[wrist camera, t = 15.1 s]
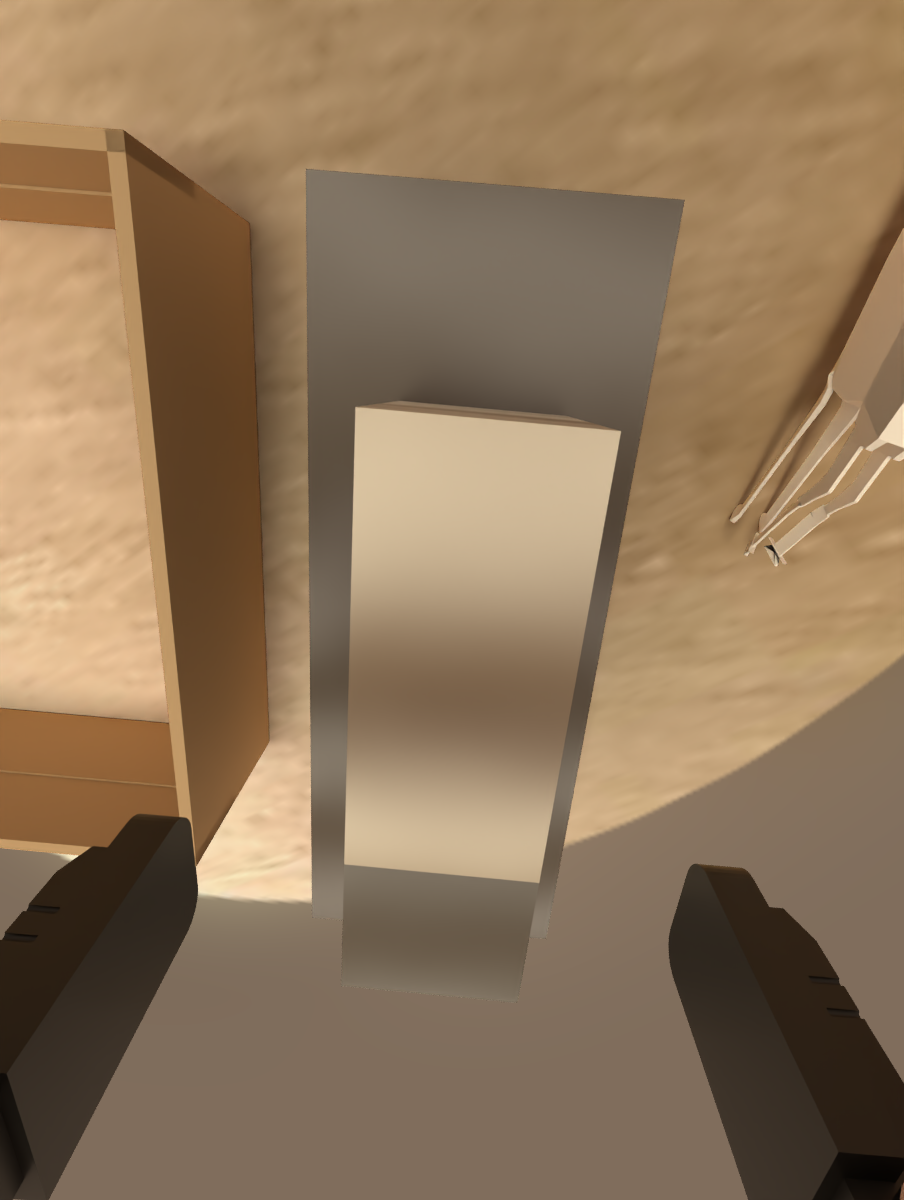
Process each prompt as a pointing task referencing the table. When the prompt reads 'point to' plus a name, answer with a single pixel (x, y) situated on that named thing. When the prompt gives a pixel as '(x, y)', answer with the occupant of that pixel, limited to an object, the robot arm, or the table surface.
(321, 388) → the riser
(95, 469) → the table surface
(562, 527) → the block
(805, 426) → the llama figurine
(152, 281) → the carton
